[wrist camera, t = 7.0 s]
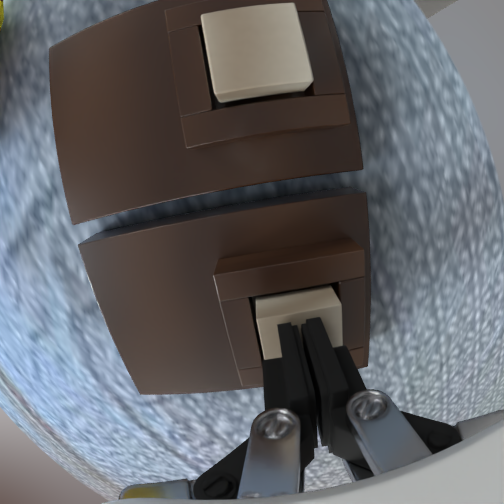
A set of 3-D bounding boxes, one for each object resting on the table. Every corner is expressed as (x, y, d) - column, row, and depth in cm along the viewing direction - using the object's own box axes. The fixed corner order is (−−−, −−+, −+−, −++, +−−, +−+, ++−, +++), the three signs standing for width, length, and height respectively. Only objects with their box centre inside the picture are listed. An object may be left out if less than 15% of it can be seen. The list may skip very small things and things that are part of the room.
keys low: (311, -4, 11) (328, -41, 7) (348, 167, 14) (381, 172, 10) (69, 56, 12) (29, 40, 8) (92, 216, 15) (52, 235, 11)
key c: (288, 21, 9) (295, 1, 7) (305, 92, 10) (314, 81, 8) (206, 32, 9) (199, 13, 7) (219, 104, 10) (214, 95, 8)
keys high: (350, 186, 14) (383, 198, 11) (357, 345, 17) (378, 386, 14) (96, 233, 15) (58, 256, 11) (148, 373, 18) (132, 414, 14)
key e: (330, 284, 12) (342, 303, 10) (333, 344, 13) (342, 367, 11) (255, 297, 12) (256, 318, 11) (266, 356, 13) (268, 381, 12)
